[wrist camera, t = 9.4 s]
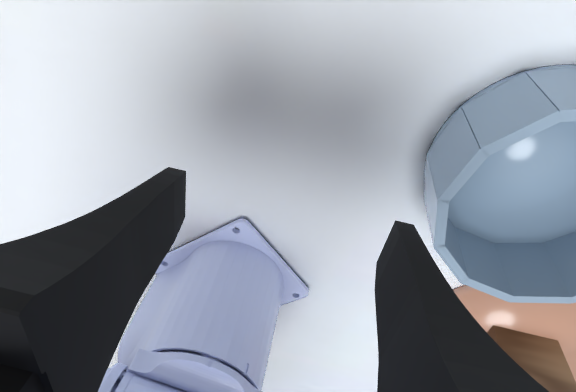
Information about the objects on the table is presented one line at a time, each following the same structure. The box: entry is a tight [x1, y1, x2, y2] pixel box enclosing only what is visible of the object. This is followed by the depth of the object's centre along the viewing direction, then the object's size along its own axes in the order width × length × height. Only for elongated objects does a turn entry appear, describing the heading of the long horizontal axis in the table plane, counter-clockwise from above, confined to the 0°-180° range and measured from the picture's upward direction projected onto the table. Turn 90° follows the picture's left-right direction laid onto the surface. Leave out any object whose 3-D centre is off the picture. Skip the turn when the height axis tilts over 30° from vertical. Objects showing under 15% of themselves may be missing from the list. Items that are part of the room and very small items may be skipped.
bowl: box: [424, 64, 576, 304], centre depth 20 cm, size 11×11×4 cm
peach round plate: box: [453, 285, 576, 382], centre depth 30 cm, size 14×14×1 cm
